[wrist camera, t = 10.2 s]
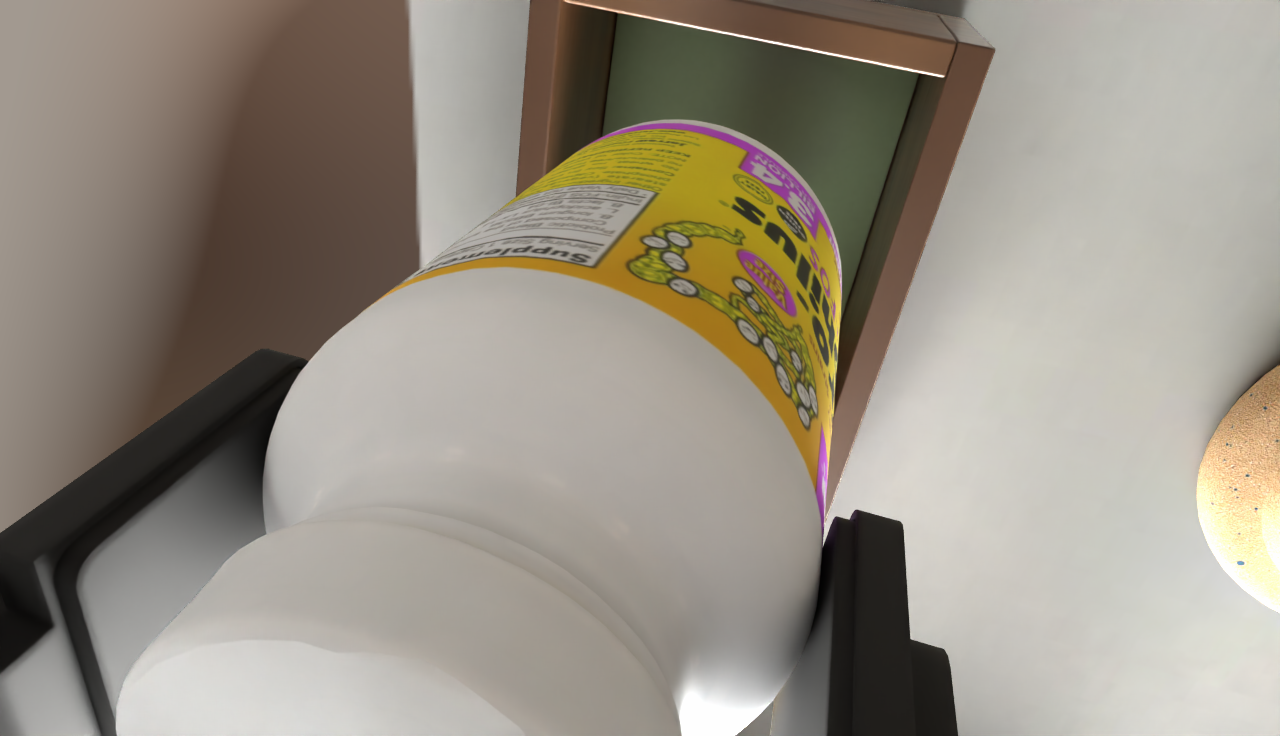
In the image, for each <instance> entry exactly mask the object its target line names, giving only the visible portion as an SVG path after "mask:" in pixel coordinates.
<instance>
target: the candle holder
mask: <svg viewBox="0 0 1280 736" xmlns="http://www.w3.org/2000/svg"><path fill="white" fill-rule="evenodd" d="M1197 503H1198V512H1199V520H1200V523H1201V526H1202V529H1203V531H1204V534H1205V537H1206V540H1207V542H1208V545H1209V547H1210V548H1211V550H1212V552H1213V553H1214V555H1215V556H1216V558H1217V560H1218V561H1219V563H1220V564H1221V566H1222V567H1223V568H1224V570H1225V571H1226V572H1227V573H1228V574H1229V575H1230V576H1231V577H1232V578H1233V579H1234V580H1235V581H1236V582H1237V583H1238V584H1239V586H1240V587H1241V588H1243V589H1244V590H1245V591H1247V592H1248V593H1249V594H1251V595H1252V596H1253V597H1255V598H1256V599H1258V600H1259V601H1260V602H1262V603H1263V604H1265V605H1266V606H1268V607H1270V608H1271V609H1273V610H1275V611H1277V612H1279V613H1280V364H1279V365H1278V366H1276V367H1275V368H1274V369H1272V370H1271V371H1269V372H1268V373H1267V374H1265V375H1264V376H1263V377H1262V378H1261V379H1260V380H1259V381H1257V382H1256V383H1255V384H1254V385H1253V386H1252V387H1251V388H1250V389H1249V390H1248V391H1247V392H1246V393H1244V394H1243V395H1242V396H1241V397H1240V398H1239V399H1238V401H1237V402H1236V403H1235V404H1234V406H1233V407H1232V408H1231V409H1230V411H1229V412H1228V413H1227V414H1226V416H1225V417H1224V418H1223V419H1222V421H1221V422H1220V424H1219V426H1218V427H1217V429H1216V431H1215V433H1214V434H1213V436H1212V438H1211V440H1210V441H1209V443H1208V445H1207V448H1206V451H1205V454H1204V457H1203V459H1202V462H1201V465H1200V468H1199V476H1198V484H1197Z"/></svg>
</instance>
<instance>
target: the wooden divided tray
mask: <svg viewBox="0 0 1280 736" xmlns="http://www.w3.org/2000/svg"><path fill="white" fill-rule="evenodd" d="M994 53H995V48H994V47H993V46H992V45H991V44H990V43H989V42H988V41H987V40H986V39H985V38H984V37H983V36H982V35H981V34H980V33H979V32H978V31H977V30H976V29H975V28H974V27H973V26H972V25H971V24H970V23H969V22H968V21H967V20H966V19H964V18H959V17H954V16H949V15H944V14H938V13H933V12H928V11H923V10H917V9H912V8H907V7H902V6H896V5H891V4H886V3H881V2H875V1H870V0H530V10H529V24H528V37H527V51H526V64H525V78H524V91H523V105H522V118H521V132H520V146H519V159H518V173H517V186H516V197H517V196H519V195H520V194H521V193H522V192H524V191H525V190H526V189H528V188H529V187H530V186H532V185H533V184H534V183H536V182H537V181H539V180H540V179H541V178H543V177H544V176H545V175H547V174H548V173H549V172H550V171H552V170H553V169H555V168H556V167H557V166H559V165H560V164H561V163H563V162H564V161H565V160H567V159H568V158H569V157H571V156H572V155H573V154H575V153H576V152H577V151H579V150H580V149H582V148H583V147H585V146H587V145H588V144H590V143H592V142H594V141H596V140H598V139H600V138H602V137H604V136H606V135H608V134H610V133H612V132H615V131H618V130H620V129H623V128H626V127H630V126H633V125H636V124H640V123H643V122H650V121H657V120H677V119H680V120H696V121H701V122H706V123H711V124H716V125H720V126H723V127H726V128H730V129H732V130H735V131H737V132H740V133H742V134H744V135H746V136H748V137H750V138H752V139H754V140H756V141H758V142H760V143H761V144H763V145H764V146H766V147H768V148H769V149H771V150H772V151H774V152H775V153H776V154H778V155H779V156H780V157H781V158H783V159H784V160H785V161H786V162H787V163H788V164H789V165H790V166H791V167H792V168H794V169H795V170H796V171H797V173H798V174H799V175H800V176H801V177H802V178H803V179H804V180H805V182H806V183H807V184H808V185H809V187H810V188H811V189H812V191H813V192H814V194H815V195H816V197H817V198H818V200H819V202H820V203H821V205H822V207H823V209H824V211H825V213H826V215H827V217H828V219H829V221H830V224H831V226H832V229H833V232H834V235H835V238H836V241H837V245H838V250H839V255H840V260H841V273H842V300H841V317H840V330H839V344H838V362H837V372H836V380H835V396H834V414H833V420H832V435H831V444H830V455H829V467H828V479H827V491H826V503H825V519H824V525H825V522H826V520H827V517H828V514H829V511H830V508H831V506H832V503H833V500H834V497H835V495H836V492H837V489H838V486H839V483H840V481H841V478H842V475H843V472H844V470H845V467H846V464H847V461H848V458H849V456H850V453H851V450H852V447H853V445H854V442H855V439H856V436H857V433H858V431H859V428H860V425H861V422H862V419H863V417H864V414H865V411H866V408H867V406H868V403H869V400H870V397H871V394H872V392H873V389H874V386H875V383H876V381H877V378H878V375H879V372H880V369H881V367H882V364H883V361H884V358H885V356H886V353H887V350H888V347H889V344H890V342H891V339H892V336H893V333H894V331H895V328H896V325H897V322H898V319H899V317H900V314H901V311H902V308H903V306H904V303H905V300H906V297H907V294H908V292H909V289H910V286H911V283H912V281H913V278H914V275H915V272H916V269H917V267H918V264H919V261H920V258H921V255H922V253H923V250H924V247H925V244H926V242H927V239H928V236H929V233H930V230H931V228H932V225H933V222H934V219H935V217H936V214H937V211H938V208H939V205H940V203H941V200H942V197H943V194H944V192H945V189H946V186H947V183H948V180H949V178H950V175H951V172H952V169H953V167H954V164H955V161H956V158H957V155H958V153H959V150H960V147H961V144H962V142H963V139H964V136H965V133H966V130H967V128H968V125H969V122H970V119H971V117H972V114H973V111H974V108H975V105H976V103H977V100H978V97H979V94H980V92H981V89H982V86H983V83H984V80H985V78H986V75H987V72H988V69H989V66H990V64H991V61H992V58H993V55H994Z"/></svg>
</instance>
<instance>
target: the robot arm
mask: <svg viewBox="0 0 1280 736" xmlns="http://www.w3.org/2000/svg"><path fill="white" fill-rule="evenodd" d="M307 363H308V361H307V360H305V359H303V358H300V357H296V356H292V355H289V354H285V353H282V352H278V351H274V350H270V349H260V350H258V351H256V352H254V353H253V354H251V355H250V356H249V357H247V358H246V359H244V360H243V361H242V362H240V363H239V364H237V365H236V366H235V367H233V368H232V369H230V370H229V371H227V372H226V373H225V374H223V375H222V376H220V377H219V378H218V379H216V380H215V381H213V382H212V383H211V384H209V385H208V386H206V387H205V388H204V389H202V390H201V391H199V392H198V393H197V394H195V395H194V396H193V397H191V398H190V399H188V400H187V401H185V402H184V403H183V404H181V405H180V406H178V407H177V408H175V409H174V410H173V411H171V412H170V413H168V414H167V415H166V416H164V417H163V418H161V419H160V420H159V421H157V422H156V423H154V424H153V425H152V426H150V427H149V428H147V429H146V430H145V431H143V432H142V433H140V434H139V435H137V436H136V437H135V438H133V439H132V440H131V441H129V442H128V443H126V444H125V445H124V446H122V447H121V448H119V449H118V450H116V451H115V452H114V453H112V454H111V455H109V456H108V457H107V458H105V459H104V460H102V461H101V462H100V463H98V464H97V465H95V466H94V467H92V468H91V469H90V470H88V471H87V472H85V473H84V474H83V475H81V476H80V477H78V478H77V479H76V480H74V481H73V482H71V483H70V484H69V485H67V486H66V487H64V488H63V489H62V490H60V491H59V492H57V493H56V494H55V495H53V496H52V497H50V498H49V499H47V500H46V501H45V502H43V503H42V504H40V505H39V506H38V507H36V508H35V509H33V510H32V511H31V512H29V513H28V514H26V515H25V516H24V517H22V518H21V519H19V520H18V521H17V522H15V523H14V524H13V525H11V526H10V527H8V528H7V529H5V530H4V531H2V532H1V533H0V736H117V733H116V707H117V704H118V700H119V696H120V693H121V690H122V687H123V683H124V680H125V679H126V677H127V675H128V673H129V671H130V670H131V668H132V666H133V664H134V663H135V661H136V660H137V659H138V658H139V657H140V655H141V654H142V653H143V652H144V651H145V650H146V649H147V648H148V646H149V645H150V644H151V643H152V642H153V641H154V640H155V639H156V638H157V637H158V636H159V635H160V634H161V633H162V631H163V630H164V629H165V628H166V627H167V626H168V625H169V624H170V623H171V622H172V621H173V620H174V619H175V618H176V617H177V616H178V615H179V614H180V613H181V611H182V610H183V609H184V608H185V607H186V606H187V605H188V604H189V603H190V602H191V601H192V600H193V599H194V598H195V597H196V595H197V594H198V593H199V592H200V591H201V590H202V589H203V588H204V586H205V585H206V584H207V583H208V582H209V581H210V580H211V579H212V577H213V576H214V575H215V574H216V573H217V571H218V570H219V569H220V568H221V567H222V565H223V564H224V563H225V562H226V561H227V560H228V559H229V558H230V557H231V556H232V555H234V554H235V553H236V552H237V551H238V550H239V549H241V548H243V547H244V546H246V545H248V544H249V543H251V542H253V541H254V540H256V539H258V538H260V537H262V536H264V535H266V534H267V533H266V527H265V522H264V512H263V473H264V465H265V457H266V451H267V447H268V443H269V439H270V435H271V432H272V429H273V426H274V423H275V421H276V418H277V415H278V412H279V410H280V408H281V406H282V404H283V402H284V400H285V398H286V396H287V394H288V392H289V390H290V388H291V386H292V384H293V383H294V381H295V380H296V378H297V376H298V375H299V373H300V372H301V371H302V369H303V368H304V367H305V366H306V365H307ZM770 736H958V731H957V722H956V713H955V704H954V695H953V686H952V678H951V669H950V664H949V659H948V655H947V654H946V652H945V650H944V649H942V648H938V647H935V646H931V645H928V644H925V643H921V642H918V641H914V640H911V639H910V628H909V612H908V595H907V579H906V562H905V546H904V530H903V524H902V523H901V522H900V521H896V520H893V519H889V518H885V517H882V516H878V515H874V514H871V513H867V512H864V511H860V510H855V511H854V512H853V514H852V516H851V518H850V520H848V519H844V518H840V517H837V516H836V517H835V518H834V520H833V522H832V524H831V527H830V530H829V532H828V535H827V538H826V541H825V543H824V546H823V549H822V562H821V573H820V584H819V592H818V601H817V608H816V612H815V616H814V619H813V623H812V627H811V631H810V634H809V636H808V639H807V641H806V644H805V646H804V649H803V651H802V654H801V656H800V658H799V660H798V662H797V664H796V666H795V668H794V670H793V671H792V673H791V675H790V676H789V678H788V680H787V681H786V682H785V684H784V685H783V687H782V688H781V690H780V691H779V693H778V694H777V696H776V697H775V699H774V704H773V713H772V721H771V730H770Z"/></svg>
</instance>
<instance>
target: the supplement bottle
mask: <svg viewBox="0 0 1280 736" xmlns="http://www.w3.org/2000/svg"><path fill="white" fill-rule="evenodd" d="M841 300H842V273H841V260H840V255H839V250H838V245H837V241H836V238H835V235H834V232H833V229H832V226H831V224H830V221H829V219H828V217H827V215H826V213H825V211H824V209H823V207H822V205H821V203H820V202H819V200H818V198H817V197H816V195H815V194H814V192H813V191H812V189H811V188H810V187H809V185H808V184H807V183H806V182H805V180H804V179H803V178H802V177H801V176H800V175H799V174H798V173H797V171H796V170H795V169H794V168H792V167H791V166H790V165H789V164H788V163H787V162H786V161H785V160H784V159H783V158H781V157H780V156H779V155H778V154H776V153H775V152H774V151H772V150H771V149H769V148H768V147H766V146H764V145H763V144H761V143H760V142H758V141H756V140H754V139H752V138H750V137H748V136H746V135H744V134H742V133H740V132H737V131H735V130H732V129H730V128H726V127H723V126H720V125H716V124H711V123H706V122H701V121H696V120H680V119H677V120H657V121H650V122H643V123H640V124H636V125H633V126H630V127H626V128H623V129H620V130H618V131H615V132H612V133H610V134H608V135H606V136H604V137H602V138H600V139H598V140H596V141H594V142H592V143H590V144H588V145H587V146H585V147H583V148H582V149H580V150H579V151H577V152H576V153H575V154H573V155H572V156H571V157H569V158H568V159H567V160H565V161H564V162H563V163H561V164H560V165H559V166H557V167H556V168H555V169H553V170H552V171H550V172H549V173H548V174H547V175H545V176H544V177H543V178H541V179H540V180H539V181H537V182H536V183H534V184H533V185H532V186H530V187H529V188H528V189H526V190H525V191H524V192H522V193H521V194H520V195H519V196H517V197H516V198H514V199H513V200H511V201H510V202H509V203H508V204H506V205H505V206H504V207H502V208H501V209H500V210H498V211H497V212H496V213H494V214H493V215H492V216H490V217H489V218H488V219H487V220H485V221H484V222H483V223H481V224H480V225H478V226H477V227H476V228H474V229H473V230H472V231H471V232H469V233H468V234H467V235H465V236H464V237H462V238H461V239H460V240H458V241H457V242H456V243H454V244H453V245H452V246H450V247H449V248H448V249H446V250H445V251H444V252H442V253H441V254H440V255H438V256H437V257H436V258H434V259H433V260H432V261H431V262H429V263H428V264H427V265H425V266H424V267H422V268H421V269H420V270H418V271H417V272H416V273H414V274H413V275H411V276H410V277H409V278H407V279H406V280H404V281H403V282H401V283H400V284H399V285H397V286H396V287H395V288H393V289H392V290H391V291H389V292H388V293H387V294H385V295H384V296H383V297H382V298H380V299H379V300H377V301H376V302H375V303H373V304H372V305H371V306H369V307H368V308H367V309H365V310H364V311H363V312H362V313H361V314H360V315H359V316H357V317H356V318H355V319H354V320H352V321H351V322H350V323H348V324H347V325H346V326H344V327H343V328H342V329H341V330H340V331H338V332H337V333H336V334H335V335H334V336H333V337H332V338H330V339H329V340H328V341H327V342H326V343H325V344H324V345H323V346H322V347H321V349H320V350H319V351H318V352H317V353H316V354H315V355H314V357H313V358H312V359H311V360H310V361H309V362H308V363H307V365H306V366H305V367H304V368H303V369H302V371H301V372H300V373H299V375H298V376H297V378H296V380H295V381H294V383H293V384H292V386H291V388H290V390H289V392H288V394H287V396H286V398H285V400H284V402H283V404H282V406H281V408H280V410H279V412H278V415H277V418H276V421H275V423H274V426H273V429H272V432H271V435H270V439H269V443H268V447H267V451H266V457H265V465H264V473H263V512H264V522H265V527H266V533H267V534H266V535H264V536H262V537H260V538H258V539H256V540H254V541H253V542H251V543H249V544H248V545H246V546H244V547H243V548H241V549H239V550H238V551H237V552H236V553H235V554H234V555H232V556H231V557H230V558H229V559H228V560H227V561H226V562H225V563H224V564H223V565H222V567H221V568H220V569H219V570H218V571H217V573H216V574H215V575H214V576H213V577H212V579H211V580H210V581H209V582H208V583H207V584H206V585H205V586H204V588H203V589H202V590H201V591H200V592H199V593H198V594H197V595H196V597H195V598H194V599H193V600H192V601H191V602H190V603H189V604H188V605H187V606H186V607H185V608H184V609H183V610H182V611H181V613H180V614H179V615H178V616H177V617H176V618H175V619H174V620H173V621H172V622H171V623H170V624H169V625H168V626H167V627H166V628H165V629H164V630H163V631H162V633H161V634H160V635H159V636H158V637H157V638H156V639H155V640H154V641H153V642H152V643H151V644H150V645H149V646H148V648H147V649H146V650H145V651H144V652H143V653H142V654H141V655H140V657H139V658H138V659H137V660H136V661H135V663H134V664H133V666H132V668H131V670H130V671H129V673H128V675H127V677H126V679H125V680H124V683H123V687H122V690H121V693H120V696H119V700H118V704H117V707H116V733H117V736H734V735H736V734H737V733H739V732H740V731H741V730H742V729H744V728H745V727H746V726H747V725H748V724H749V723H750V722H752V721H753V720H754V719H755V718H756V717H757V716H758V715H759V714H760V713H762V712H763V711H764V709H765V708H766V707H767V706H768V705H769V704H770V703H771V702H772V701H773V700H774V699H775V697H776V696H777V694H778V693H779V691H780V690H781V688H782V687H783V685H784V684H785V682H786V681H787V680H788V678H789V676H790V675H791V673H792V671H793V670H794V668H795V666H796V664H797V662H798V660H799V658H800V656H801V654H802V651H803V649H804V646H805V644H806V641H807V639H808V636H809V634H810V631H811V627H812V623H813V619H814V616H815V612H816V608H817V601H818V592H819V584H820V573H821V562H822V549H823V534H824V519H825V503H826V491H827V479H828V467H829V455H830V444H831V435H832V420H833V414H834V396H835V380H836V372H837V362H838V344H839V330H840V317H841Z"/></svg>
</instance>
